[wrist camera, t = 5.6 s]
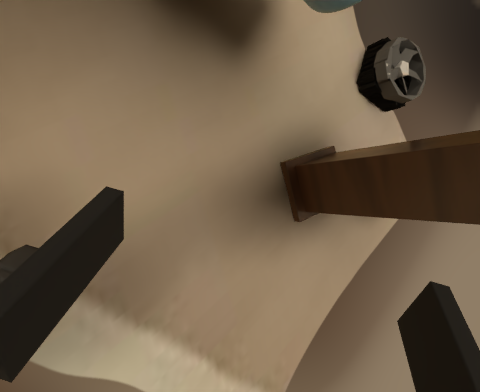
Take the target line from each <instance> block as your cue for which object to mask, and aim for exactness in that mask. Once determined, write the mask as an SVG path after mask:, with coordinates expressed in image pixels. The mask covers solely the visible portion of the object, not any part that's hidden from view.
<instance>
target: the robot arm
mask: <svg viewBox="0 0 480 392" xmlns="http://www.w3.org/2000/svg"><path fill="white" fill-rule="evenodd" d="M304 1H305V2H306V3H307V5H308V6H309V7H310V8H312V9H313V10H315V11H317V12H321V13H332V12H337V11H340V10H343V9H346V8H348V7H350V6H353V5H355V4H357V3H359V2H360V1H362V0H304ZM123 239H124V191H120V190H117V189H113V188H110V187H107V186H106V187H105V188H104V189H103V190H102V191H101V192H100V193H99V194H98V195H97V196H96V197H94V198H93V199H92V200H91V201H90V202H89V203H88V204H87V205H86V206H85V207H84V208H82V209H81V210H80V211H79V212H78V213H77V214H76V215H75V216H74V217H73V218H72V219H70V220H69V221H68V222H67V223H66V224H65V225H64V226H63V227H62V228H61V229H60V230H58V231H57V232H56V233H55V234H54V235H53V236H52V237H51V238H50V239H49V240H48V241H46V242H45V243H44V244H43V245H42V246H41V247H40V248H36V247H32V246H29V245H25V246H22V247H20V248H18V249H16V250H14V251H12V252H10V253H8V254H7V255H6V256H5V257H4V258H2V259H1V260H0V379H2V380H5V381H8V382H12V381H13V380H14V379H15V377H16V376H17V375H18V373H19V372H20V371H21V370H22V368H23V367H24V366H25V364H26V363H27V362H28V361H29V359H30V358H31V357H32V356H33V354H34V353H35V352H36V351H37V349H38V348H39V347H40V345H41V344H42V343H43V342H44V340H45V339H46V338H47V336H48V335H49V334H50V333H51V331H52V330H53V329H54V327H55V326H56V325H57V324H58V322H59V321H60V320H61V319H62V317H63V316H64V315H65V313H66V312H67V311H68V310H69V308H70V307H71V306H72V304H73V303H74V302H75V301H76V299H77V298H78V297H79V295H80V294H81V293H82V292H83V290H84V289H85V288H86V287H87V285H88V284H89V283H90V281H91V280H92V279H93V278H94V276H95V275H96V274H97V272H98V271H99V270H100V269H101V267H102V266H103V265H104V264H105V262H106V261H107V260H108V258H109V257H110V256H111V255H112V253H113V252H114V251H115V249H116V248H117V247H118V246H119V244H120V243H121V242H122V240H123ZM397 322H398V326H399V330H400V333H401V337H402V341H403V345H404V348H405V352H406V356H407V359H408V363H409V367H410V371H411V375H412V378H413V382H414V386H415V389H416V392H480V350H479V348H478V346H477V344H476V342H475V340H474V338H473V336H472V334H471V331H470V329H469V328H468V325H467V323H466V321H465V319H464V317H463V315H462V312H461V311H460V308H459V306H458V304H457V302H456V300H455V298H454V296H453V294H452V292H451V290H450V287H448V286H445V285H442V284H438V283H435V282H429V284H428V285H427V286H426V287H425V288H424V290H423V291H422V292H421V293H420V294H419V296H418V297H417V298H416V299H415V300H414V302H413V303H412V304H411V305H410V306H409V308H408V309H407V310H406V311H405V312H404V314H403V315H402V316H401V317H400V318H399V320H398V321H397Z"/></svg>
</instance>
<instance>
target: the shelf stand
mask: <svg viewBox="0 0 480 392" xmlns="http://www.w3.org/2000/svg"><path fill="white" fill-rule="evenodd" d="M281 167H282V172H283V176H284V180H285V184H286V188H287V192H288V196H289V200H290V204H291V208H292V212H293V216H294V220H295V221H296V222H301V221H303V220H305V219H307V218H310V217H312V216H314V215H316V214H318V213H326V214H340V215H354V216H368V217H382V218H396V219H411V220H424V221H437V222H452V223H465V224H479V225H480V130H479V131H472V132H465V133H459V134H452V135H446V136H439V137H433V138H427V139H420V140H414V141H407V142H401V143H394V144H388V145H381V146H375V147H368V148H362V149H355V150H349V151H343V152H336V151H335V147H334V146H331V147H327V148H324V149H321V150H317V151H314V152H311V153H308V154H305V155H302V156H299V157H296V158H293V159H289V160H286V161H283V162H281Z"/></svg>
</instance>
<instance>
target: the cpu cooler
mask: <svg viewBox="0 0 480 392" xmlns="http://www.w3.org/2000/svg"><path fill="white" fill-rule="evenodd" d="M357 84H358V85H360V88H359V91H360V92H361V93H363V95H364V96H366V97H367V98H368V99H369V100H371V101H372V102H374V104H376V105H377V106H378V107H380V109H382V110H383V111H385V112H386V111H390V110H394V109H398V108H401V107H403V106H405V103H406V102H408V101H411V100H413V99H414V98H416V97H418V96H419V95H420V94H421V92H422V89H423V87H424V84H425V64H424V62H423V58H422V55H421V52H420V49H419V47H418V46H417V45H415V44H414V43H413V42H412V41H410V40H409V39H405V38H400V37H397V38H395V39H393V40H390V39H388V37H387V38H385V39H381V40H379V41H377V42H376V43H373V44H371V45H369V46H368V47H367V51H366V54H365V57H364V60H363V64H362V67H361V70H360V74H359V78H358V82H357Z"/></svg>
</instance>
